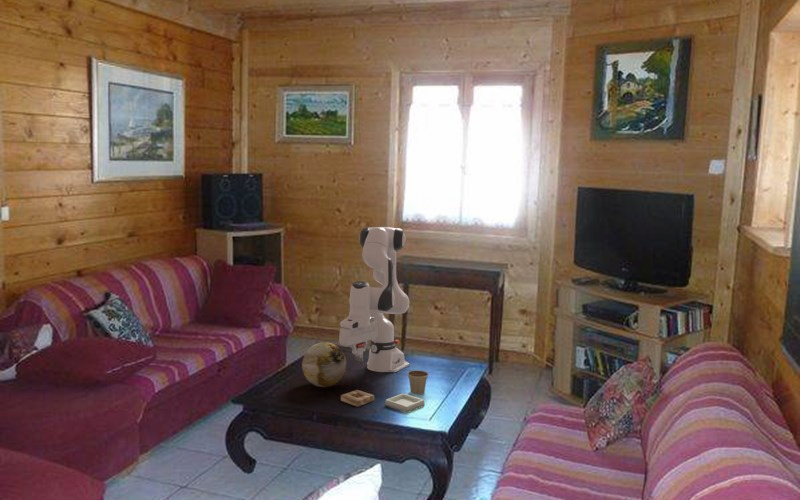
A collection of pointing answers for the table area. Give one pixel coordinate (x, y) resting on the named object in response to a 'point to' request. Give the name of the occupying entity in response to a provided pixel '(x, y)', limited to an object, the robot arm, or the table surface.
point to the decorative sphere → (324, 364)
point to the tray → (404, 402)
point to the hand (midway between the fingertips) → (358, 352)
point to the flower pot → (417, 381)
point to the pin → (359, 352)
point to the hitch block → (357, 398)
